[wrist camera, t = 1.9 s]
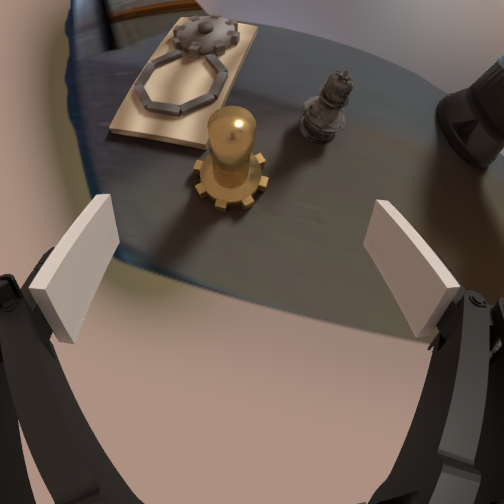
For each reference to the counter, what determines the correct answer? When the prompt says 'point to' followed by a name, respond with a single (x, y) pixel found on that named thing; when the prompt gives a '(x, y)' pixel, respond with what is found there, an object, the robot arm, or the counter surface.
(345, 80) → the stone chess piece
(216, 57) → the gear board
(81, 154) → the counter surface
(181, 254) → the counter surface
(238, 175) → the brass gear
